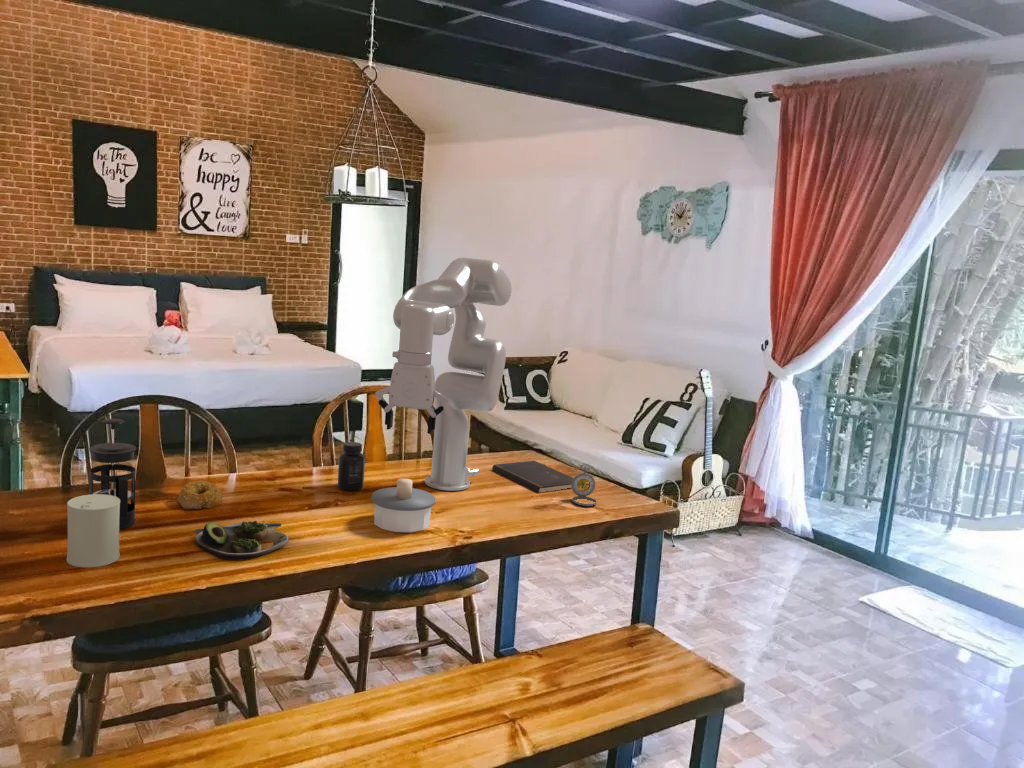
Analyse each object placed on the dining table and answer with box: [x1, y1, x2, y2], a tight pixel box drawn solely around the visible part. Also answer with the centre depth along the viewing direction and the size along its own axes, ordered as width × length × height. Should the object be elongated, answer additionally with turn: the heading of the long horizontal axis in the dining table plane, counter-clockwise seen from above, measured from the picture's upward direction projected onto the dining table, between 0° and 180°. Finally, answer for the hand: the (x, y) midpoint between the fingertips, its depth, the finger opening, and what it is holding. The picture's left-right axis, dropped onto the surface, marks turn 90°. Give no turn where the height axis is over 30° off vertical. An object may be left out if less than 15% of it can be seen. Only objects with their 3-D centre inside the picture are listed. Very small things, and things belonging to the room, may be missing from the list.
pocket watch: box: [571, 463, 598, 507], centre depth 222 cm, size 8×8×10 cm
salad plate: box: [192, 520, 290, 561], centre depth 173 cm, size 19×18×5 cm
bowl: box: [373, 503, 432, 533], centre depth 193 cm, size 13×13×6 cm
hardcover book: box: [491, 460, 579, 494], centre depth 241 cm, size 16×23×2 cm
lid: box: [371, 477, 436, 511], centre depth 192 cm, size 15×15×5 cm
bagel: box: [176, 479, 223, 510], centre depth 193 cm, size 10×11×5 cm
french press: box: [88, 418, 137, 531], centre depth 174 cm, size 12×9×23 cm
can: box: [66, 494, 121, 569], centre depth 157 cm, size 9×9×12 cm
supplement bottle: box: [337, 441, 366, 492], centre depth 215 cm, size 7×7×12 cm
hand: (409, 430), depth 191 cm, fingers open, 9 cm apart
